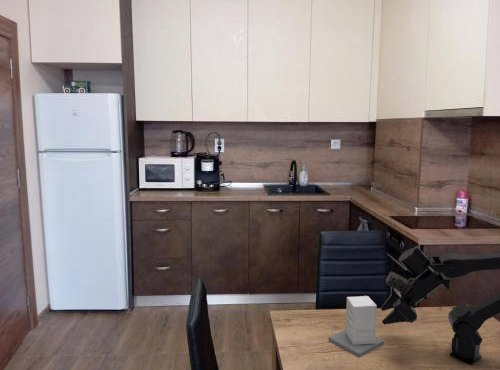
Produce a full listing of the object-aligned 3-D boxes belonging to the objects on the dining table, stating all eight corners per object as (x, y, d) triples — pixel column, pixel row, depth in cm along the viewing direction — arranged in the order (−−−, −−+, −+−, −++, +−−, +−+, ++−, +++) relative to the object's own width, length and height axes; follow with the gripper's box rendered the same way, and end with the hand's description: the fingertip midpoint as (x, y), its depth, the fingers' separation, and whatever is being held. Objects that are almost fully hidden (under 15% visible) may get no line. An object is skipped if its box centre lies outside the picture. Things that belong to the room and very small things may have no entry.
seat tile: (383, 344, 128) (383, 340, 128) (359, 357, 121) (359, 353, 121) (352, 329, 137) (352, 325, 137) (328, 340, 130) (328, 337, 130)
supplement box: (367, 332, 133) (368, 295, 131) (375, 344, 126) (377, 305, 124) (345, 333, 133) (346, 296, 131) (352, 345, 125) (353, 306, 123)
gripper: (400, 255, 131) (363, 285, 135) (406, 276, 113) (363, 309, 117) (425, 281, 130) (387, 310, 134) (435, 306, 112) (391, 338, 117)
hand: (382, 316), depth 126 cm, fingers open, 9 cm apart
